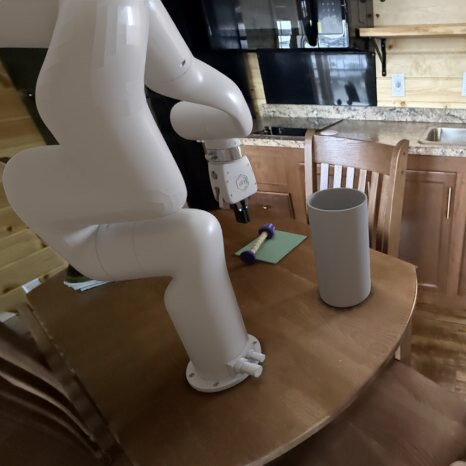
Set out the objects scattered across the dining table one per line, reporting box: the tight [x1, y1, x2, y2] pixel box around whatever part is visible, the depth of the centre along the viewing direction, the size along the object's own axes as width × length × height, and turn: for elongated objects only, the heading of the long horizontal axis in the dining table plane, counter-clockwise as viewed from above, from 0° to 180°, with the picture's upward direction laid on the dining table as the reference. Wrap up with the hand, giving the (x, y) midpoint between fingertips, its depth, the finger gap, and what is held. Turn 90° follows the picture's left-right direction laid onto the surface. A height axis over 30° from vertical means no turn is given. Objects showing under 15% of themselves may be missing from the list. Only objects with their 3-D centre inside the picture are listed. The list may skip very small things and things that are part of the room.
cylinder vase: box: [306, 187, 372, 308], centre depth 72 cm, size 12×12×25 cm
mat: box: [234, 229, 308, 265], centre depth 96 cm, size 14×16×1 cm
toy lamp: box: [239, 223, 276, 265], centre depth 94 cm, size 5×5×17 cm
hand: (243, 221), depth 83 cm, fingers closed
